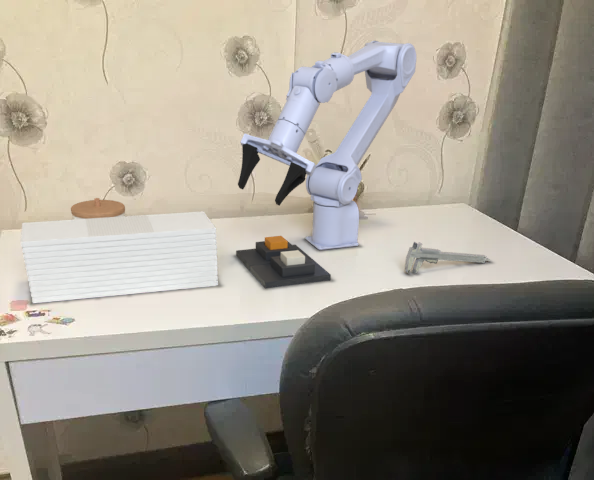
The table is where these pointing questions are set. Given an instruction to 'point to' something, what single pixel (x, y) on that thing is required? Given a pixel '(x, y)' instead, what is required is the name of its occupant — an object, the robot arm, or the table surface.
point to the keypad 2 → (289, 273)
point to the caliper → (436, 257)
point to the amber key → (276, 242)
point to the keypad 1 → (263, 254)
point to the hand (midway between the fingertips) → (258, 195)
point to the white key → (292, 257)
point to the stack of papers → (119, 255)
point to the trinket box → (97, 209)
